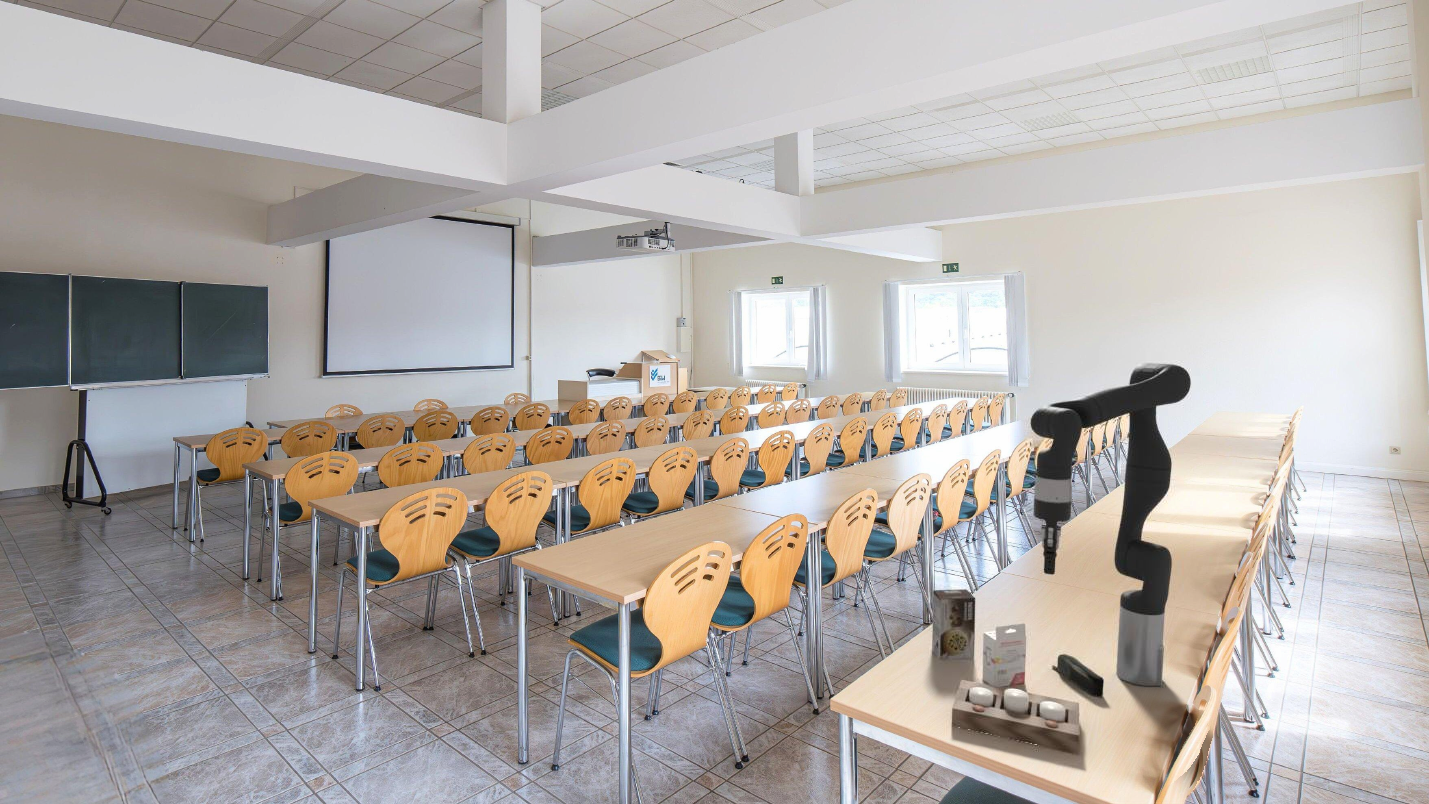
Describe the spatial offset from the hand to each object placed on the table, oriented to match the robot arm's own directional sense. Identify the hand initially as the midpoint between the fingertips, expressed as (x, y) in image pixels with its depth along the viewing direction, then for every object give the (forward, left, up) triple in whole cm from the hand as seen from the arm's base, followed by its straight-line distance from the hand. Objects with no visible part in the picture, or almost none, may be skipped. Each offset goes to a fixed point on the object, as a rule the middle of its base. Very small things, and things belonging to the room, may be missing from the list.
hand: (1049, 573), depth 164 cm
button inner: (-2, +15, -28) cm, 32 cm away
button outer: (+12, +15, -28) cm, 34 cm away
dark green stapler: (-7, -11, -30) cm, 32 cm away
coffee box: (+22, -14, -29) cm, 39 cm away
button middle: (+5, +15, -27) cm, 31 cm away
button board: (+5, +15, -29) cm, 33 cm away
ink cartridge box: (+9, -4, -29) cm, 31 cm away
